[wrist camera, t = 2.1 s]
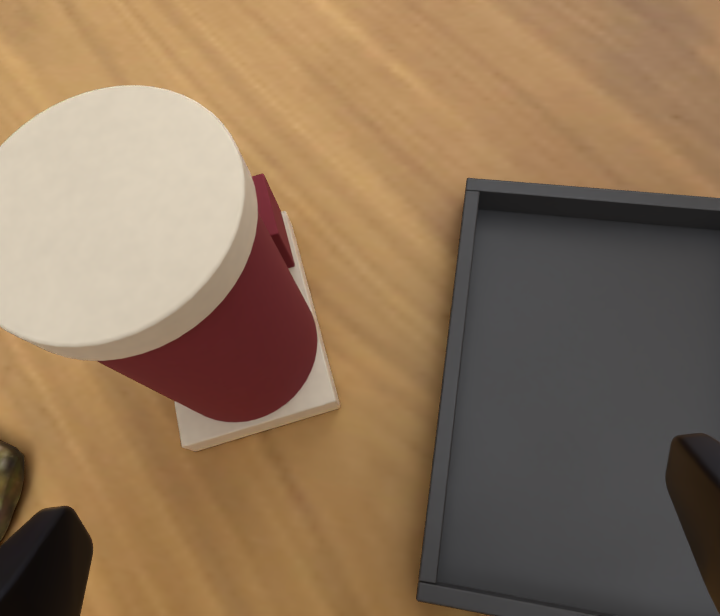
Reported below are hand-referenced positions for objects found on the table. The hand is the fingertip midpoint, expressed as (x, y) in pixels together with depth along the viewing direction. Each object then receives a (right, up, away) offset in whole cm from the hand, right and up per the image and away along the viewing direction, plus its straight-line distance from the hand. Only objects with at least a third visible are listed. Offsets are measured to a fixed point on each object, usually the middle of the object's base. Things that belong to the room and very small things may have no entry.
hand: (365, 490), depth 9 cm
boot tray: (+9, -1, +14) cm, 17 cm away
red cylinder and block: (-5, +2, +17) cm, 17 cm away
